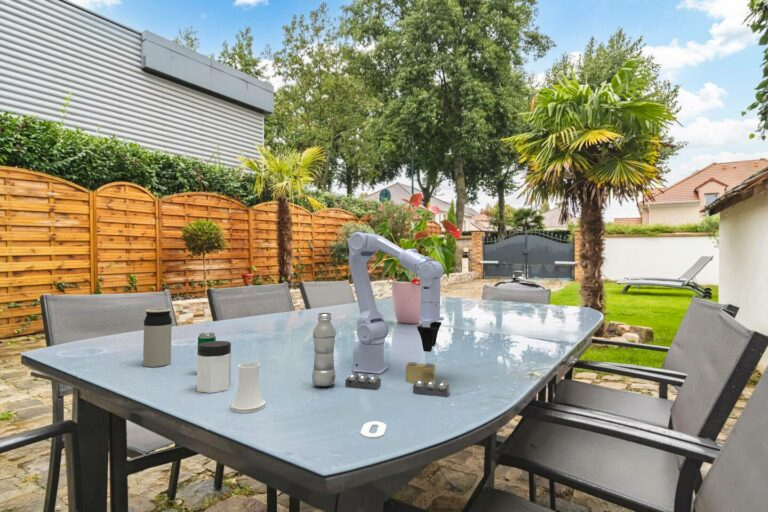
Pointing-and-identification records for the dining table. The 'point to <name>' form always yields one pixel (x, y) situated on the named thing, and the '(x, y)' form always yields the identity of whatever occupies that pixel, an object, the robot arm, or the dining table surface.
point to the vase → (248, 389)
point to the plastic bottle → (324, 351)
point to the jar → (214, 366)
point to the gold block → (419, 372)
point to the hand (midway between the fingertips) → (429, 348)
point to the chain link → (368, 426)
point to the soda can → (206, 338)
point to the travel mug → (157, 337)
